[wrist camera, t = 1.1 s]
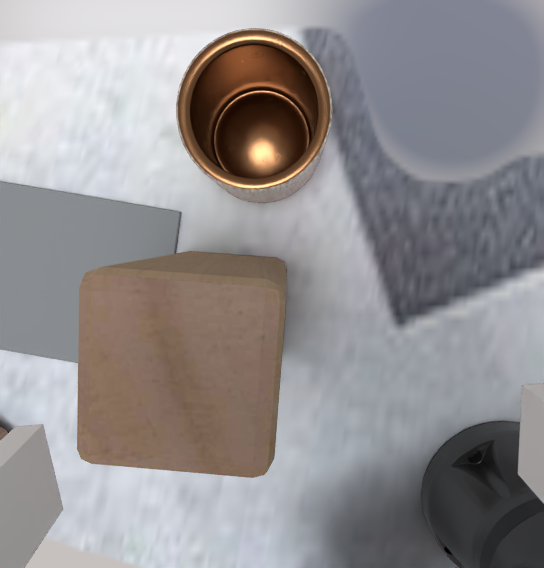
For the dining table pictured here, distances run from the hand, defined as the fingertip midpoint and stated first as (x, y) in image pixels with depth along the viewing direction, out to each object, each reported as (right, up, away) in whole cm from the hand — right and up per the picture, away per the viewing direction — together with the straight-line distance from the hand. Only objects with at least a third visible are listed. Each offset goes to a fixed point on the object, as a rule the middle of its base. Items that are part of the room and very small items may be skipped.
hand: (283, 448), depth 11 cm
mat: (-20, +5, +28) cm, 35 cm away
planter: (-1, +17, +26) cm, 31 cm away
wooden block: (-4, +2, +28) cm, 28 cm away
